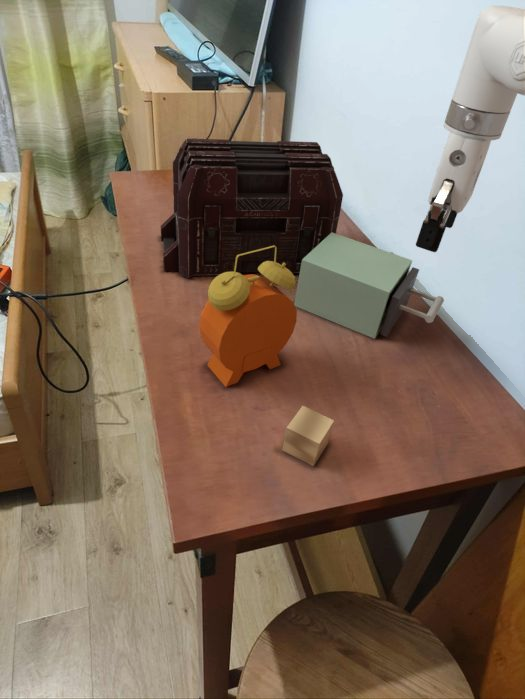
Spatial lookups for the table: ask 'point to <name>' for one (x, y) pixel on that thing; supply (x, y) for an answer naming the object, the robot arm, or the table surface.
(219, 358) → the alarm clock
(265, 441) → the table surface
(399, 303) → the drawer
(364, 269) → the cabinet
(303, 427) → the block
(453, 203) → the robot arm
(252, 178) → the crate
